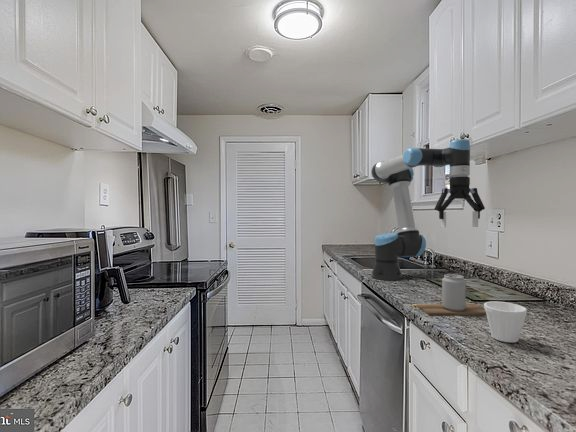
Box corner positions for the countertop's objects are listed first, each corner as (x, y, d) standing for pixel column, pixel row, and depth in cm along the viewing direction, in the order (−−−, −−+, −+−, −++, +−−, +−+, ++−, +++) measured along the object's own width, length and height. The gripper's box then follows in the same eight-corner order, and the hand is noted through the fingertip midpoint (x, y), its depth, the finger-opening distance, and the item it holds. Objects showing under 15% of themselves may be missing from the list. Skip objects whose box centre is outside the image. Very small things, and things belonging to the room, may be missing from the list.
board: (416, 306, 119) (416, 304, 119) (474, 305, 119) (475, 303, 119) (429, 315, 109) (429, 313, 109) (492, 314, 109) (492, 312, 109)
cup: (489, 329, 96) (489, 299, 96) (530, 339, 89) (530, 306, 88) (478, 339, 89) (478, 306, 89) (522, 350, 82) (522, 314, 82)
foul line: (411, 304, 121) (411, 304, 121) (474, 304, 121) (474, 303, 121) (413, 305, 120) (413, 305, 120) (476, 305, 120) (476, 304, 120)
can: (460, 305, 117) (460, 273, 116) (469, 312, 109) (469, 277, 109) (438, 305, 117) (438, 273, 117) (446, 311, 110) (446, 277, 110)
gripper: (434, 176, 130) (434, 227, 130) (494, 175, 130) (494, 227, 131) (426, 177, 137) (426, 226, 138) (483, 177, 138) (482, 226, 138)
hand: (459, 227), depth 134 cm, fingers open, 13 cm apart
